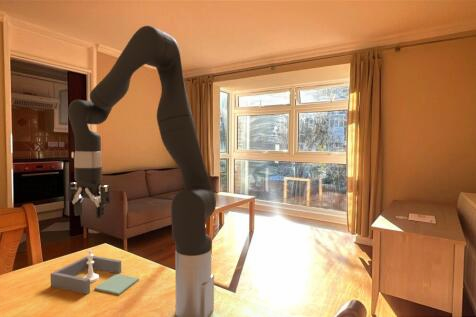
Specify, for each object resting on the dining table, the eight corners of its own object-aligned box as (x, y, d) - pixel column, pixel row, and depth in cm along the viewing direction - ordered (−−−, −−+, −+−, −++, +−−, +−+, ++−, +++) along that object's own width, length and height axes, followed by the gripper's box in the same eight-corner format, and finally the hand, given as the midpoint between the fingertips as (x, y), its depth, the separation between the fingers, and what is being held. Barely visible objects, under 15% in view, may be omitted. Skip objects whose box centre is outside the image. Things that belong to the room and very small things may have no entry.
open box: (121, 271, 94) (121, 260, 93) (86, 294, 80) (86, 281, 80) (89, 265, 98) (88, 255, 97) (50, 286, 84) (50, 273, 84)
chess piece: (91, 284, 86) (91, 253, 85) (78, 282, 87) (77, 251, 86) (102, 276, 90) (102, 247, 90) (89, 274, 91) (89, 245, 91)
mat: (139, 280, 88) (139, 278, 88) (119, 295, 80) (119, 293, 80) (116, 275, 91) (116, 273, 91) (94, 289, 82) (94, 287, 82)
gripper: (115, 165, 87) (115, 216, 88) (80, 163, 91) (81, 211, 92) (97, 168, 80) (97, 222, 81) (60, 165, 84) (60, 217, 85)
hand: (88, 216), depth 87 cm, fingers open, 8 cm apart
